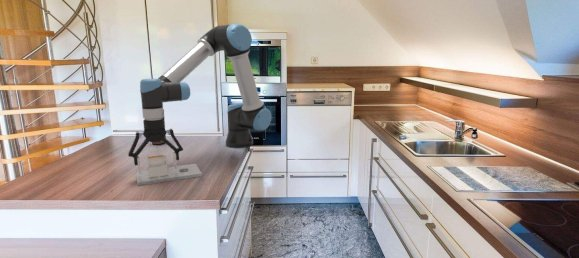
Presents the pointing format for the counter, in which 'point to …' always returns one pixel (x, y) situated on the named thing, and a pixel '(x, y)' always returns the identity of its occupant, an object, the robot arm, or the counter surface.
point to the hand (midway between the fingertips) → (158, 170)
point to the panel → (169, 174)
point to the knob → (157, 166)
